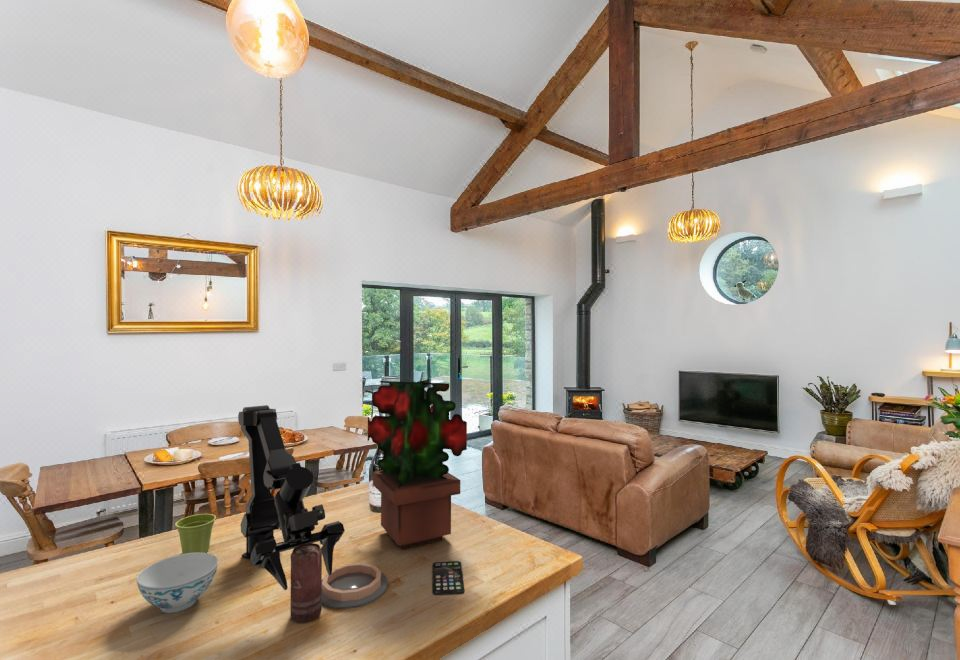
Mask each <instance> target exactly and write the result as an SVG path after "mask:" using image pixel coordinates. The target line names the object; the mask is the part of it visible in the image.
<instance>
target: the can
mask: <svg viewBox="0 0 960 660" xmlns="http://www.w3.org/2000/svg"><path fill="white" fill-rule="evenodd" d="M321 548H322V547H321V546H320V544H318V543H316V542H315V543H307V544H302V545H299V546H297V547H295V548H294V549H292V552H291V554H290V610H289V611H290V613H289V614H290V618H291V620H292V621H294V623H295V622H296V623H297V624H304V623H305V624H306V623H309V622H312V621H314V620H315V619H316V618H318V617H319V616H320V614H321V612H322V604H321V599H322V580H323V579H322V575H323V574H322V570H323V567H322V566H323V564H322V563H323V562H322V561H323V556H322V550H321Z"/></svg>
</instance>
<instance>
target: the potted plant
mask: <svg viewBox="0 0 960 660" xmlns="http://www.w3.org/2000/svg"><path fill="white" fill-rule="evenodd" d="M379 382H380V383H382V384H385V385H379V387H378V389H377V390H375V391H374V392H373V393H372V395H371V404H372V406H374V407H375V408H376V409H377V410H378V412H379V413H380V414H385V415H375V416H373V417H372V418H371V420H370V417H369V416H367V442H369V441H370V439H371V440H372V443H374V444H375V445H376V446H377V448H378V449H379V450H381V451H382V452H383V458H380V459H378V461H377V466H378V468H379V469H381V470H375V471H372V485H373V487H374V488H375V489H376V490H378V492H380V526H381V527H382V528H383V529H384V531H385V532H386V533H387V535H389V537H390V538H391V539H392V540H393V541H394V543H395V544H396V545H397V546H398V547H401V548H402V550H403V549H407V547H408V548H411V546H412V547H416V545H417V546H420V544H421V545H424V543H425V544H428V542H430V543H433V541H434V542H438V541H442V540H443V536H444V537H445V536H448V535H451V534H452V496H456V495H460V494H461V479H459V478H458V477H457V476H454V475H453V474H451V473H449V471H450V469H449V466H448V465H446V464H445V462H447V461H449V458H450V456H449V453H447V451H444V450H450V451H451V453H452V455H453V456H455V457H460V456H461V455H462V453H463V451H466V450H468V449H467V447H468V446H467V445H468V444H467V443H468V442H467V441H468V438H467V437H468V436H467V435H468V422H467V421H465V420H463V417H462V415H460V414H459V413H455V414H453V415H452V417H451V419H450V412H452V411H455V409H456V408H457V407H456V403H455V402H454V401H452V400H445V399H444V398H443V396H442V395H441V393H440V394H439V393H438V392H443V393H444V392H447V391H449V389H450V383H447V382H444V383H443V382H430V379H429V378H428V379H424V380H418V381H398V380H397V381H391V380H379ZM386 384H388V385H386ZM430 385H431V387H429V386H430ZM425 388H427V390H426V389H425ZM441 539H442V540H441ZM437 540H438V541H437Z"/></svg>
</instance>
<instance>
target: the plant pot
mask: <svg viewBox="0 0 960 660" xmlns="http://www.w3.org/2000/svg"><path fill="white" fill-rule="evenodd" d="M216 519H217V517H216V515H215V514H211V513H199V514H193V515H189V516H186V517H183V518H180V519H179V520H177V521H176V522H175V524H174V526H175V528H177V532H178V534H179V540H180V545H181V552H182V554H187V553H208V551H209V549H210V545H211V539H212V530H213V526H214V524H215V521H216Z"/></svg>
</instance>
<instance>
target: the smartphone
mask: <svg viewBox="0 0 960 660" xmlns="http://www.w3.org/2000/svg"><path fill="white" fill-rule="evenodd" d="M431 584H432V585H431V586H432V587H431V588H432V591H431V592H432V596H433V595H434V596H445V595H446V596H447V595H451V596H452V595H462V594H464V593H465V584H464V574H463V566H462V562H461V561H459V560H455V561H454V560H452V561H435V562H433V563H432V583H431Z"/></svg>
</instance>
